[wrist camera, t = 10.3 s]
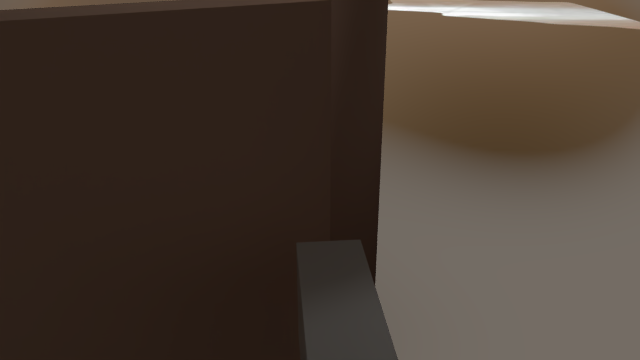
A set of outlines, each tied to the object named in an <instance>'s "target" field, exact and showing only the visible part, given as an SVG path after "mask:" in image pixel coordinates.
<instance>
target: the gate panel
mask: <svg viewBox="0 0 640 360" xmlns="http://www.w3.org/2000/svg"><path fill="white" fill-rule="evenodd" d="M387 14H388V0H179V1H178V0H177V1H159V2H141V3H123V4H106V5H89V6H71V7H52V8H34V9H33V8H32V9H16V10H15V9H14V10H0V360H300V349H299V336H298V295H297V253H296V243H298V242H318V241H339V240H361V243H362V246H363V249H364V253H365V256H366V259H367V262H368V266H369V269H370V272H371V275H372V278H373V282H374V285H375V276H376V254H377V232H378V210H379V189H380V187H379V186H380V166H381V144H382V123H383V101H384V78H385V56H386V34H387Z"/></svg>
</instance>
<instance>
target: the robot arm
mask: <svg viewBox="0 0 640 360" xmlns="http://www.w3.org/2000/svg"><path fill="white" fill-rule="evenodd" d="M296 253H297V295H298V336H299V349H300V360H398V359H397V356H396V352H395V349H394V346H393V343H392V339H391V336H390V333H389V330H388V326H387V323H386V320H385V317H384V314H383V311H382V307H381V304H380V301H379V298H378V294H377V291H376V288H375V285H374V282H373V278H372V275H371V272H370V269H369V266H368V262H367V259H366V256H365V253H364V249H363V246H362V243H361V240H339V241H318V242H298V243H296Z"/></svg>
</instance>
